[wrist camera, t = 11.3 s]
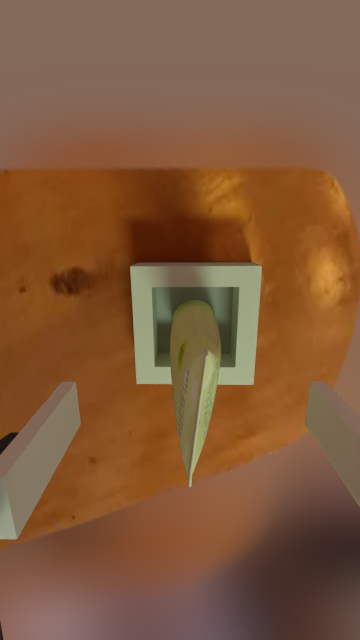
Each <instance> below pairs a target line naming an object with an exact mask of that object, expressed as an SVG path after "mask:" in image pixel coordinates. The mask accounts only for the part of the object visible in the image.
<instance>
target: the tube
mask: <svg viewBox="0 0 360 640" xmlns="http://www.w3.org/2000/svg"><path fill="white" fill-rule="evenodd" d="M220 360H221V344H220V335H219V329H218V325H217V320H216V316H215V313H214V311H213V309H212V308H211V307H210V306H209V305H208V304H207V303H205V302H203V301H201V300H188V301H185V302H183V303H182V304H180V305H179V306H178V307H177V309H176V310H175V312H174V315H173V319H172V326H171V339H170V364H171V379H172V390H173V399H174V408H175V416H176V423H177V430H178V436H179V442H180V447H181V452H182V456H183V461H184V465H185V469H186V472H187V476H188V485H189V487H191V484H192V473H193V471H194V468H195V466H196V464H197V461H198V458H199V455H200V452H201V449H202V446H203V443H204V440H205V437H206V433H207V430H208V426H209V422H210V418H211V413H212V409H213V404H214V399H215V393H216V388H217V382H218V376H219V369H220Z"/></svg>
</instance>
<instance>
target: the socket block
mask: <svg viewBox="0 0 360 640" xmlns="http://www.w3.org/2000/svg"><path fill="white" fill-rule="evenodd" d="M130 273H131V291H132V309H133V326H134V344H135V362H136V380H137V384H172V379H171V364H170V339H171V326H172V319H173V315H174V312H175V310H176V309H177V307H178V306H179V305H180V304H182V303H183V302H185V301H188V300H201V301H203V302H205V303H207V304H208V305H209V306H210V307H211V308H212V309H213V311H214V313H215V316H216V320H217V325H218V329H219V335H220V344H221V360H220V369H219V376H218V382H217V384H223V385H253V384H254V370H255V356H256V342H257V329H258V315H259V301H260V287H261V273H262V266H261V265H259V264H256V263H254V262H138V263H136V264H134V265H132V266H130Z"/></svg>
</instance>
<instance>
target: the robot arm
mask: <svg viewBox="0 0 360 640" xmlns="http://www.w3.org/2000/svg"><path fill="white" fill-rule="evenodd" d="M80 425H81V421H80V413H79V405H78V397H77V388H76V382H62V383H61V384H60V385H59V386H58V387H57V389H56V390H55V391H54V392H53V393H52V394H51V396H50V397H49V398H48V399H47V400H46V402H45V403H44V404H43V405H42V406H41V407H40V409H39V410H38V411H37V412H36V413H35V415H34V416H33V417H32V418H31V419H30V420H29V422H28V423H27V424H26V425H25V426H24V428H23V429H22V430H21V431H20V432H19V433H10V434H8V435H7V436H5V437H4V438H2V439H1V440H0V539H18V537H19V535H20V533H21V531H22V530H23V528H24V526H25V524H26V522H27V521H28V519H29V517H30V515H31V513H32V512H33V510H34V508H35V506H36V504H37V502H38V501H39V499H40V497H41V495H42V493H43V492H44V490H45V488H46V486H47V484H48V483H49V481H50V479H51V477H52V475H53V474H54V472H55V470H56V468H57V466H58V464H59V463H60V461H61V459H62V457H63V455H64V454H65V452H66V450H67V448H68V446H69V445H70V443H71V441H72V439H73V437H74V436H75V434H76V432H77V430H78V428H79V426H80ZM305 425H306V426H307V428H308V429H309V431H310V432H311V434H312V435H313V437H314V438H315V440H316V441H317V443H318V445H319V446H320V447H321V449H322V450H323V452H324V453H325V455H326V457H327V458H328V460H329V461H330V463H331V464H332V466H333V467H334V469H335V470H336V472H337V473H338V475H339V476H340V478H341V479H342V481H343V483H344V484H345V486H346V487H347V489H348V490H349V492H350V493H351V495H352V496H353V498H354V499H355V501H356V502H357V504H358V505H359V506H360V417H359V416H358V415H357V414H356V413H355V412H354V411H353V410H352V409H351V408H350V407H349V406H348V405H347V404H346V403H345V402H344V401H343V399H341V397H339V396H338V394H337V393H336V392H335V391H334V390H333V389H332V388H331V387H330V386H329V385H328V384H327V383H326V382H311V384H310V392H309V399H308V407H307V414H306V422H305ZM0 640H3V635H2V629H1V623H0Z"/></svg>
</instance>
